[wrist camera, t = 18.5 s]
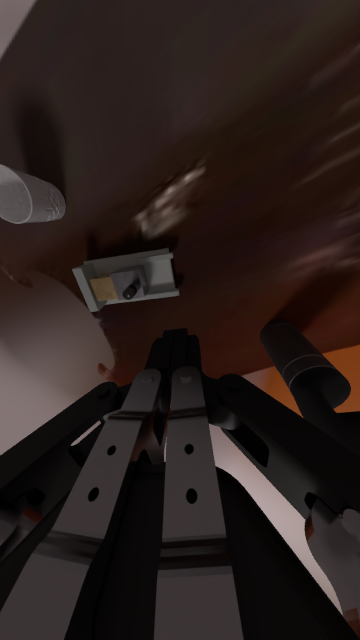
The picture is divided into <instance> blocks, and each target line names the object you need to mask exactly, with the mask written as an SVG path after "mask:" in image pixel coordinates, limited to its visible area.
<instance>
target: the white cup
mask: <svg viewBox="0 0 360 640" xmlns="http://www.w3.org/2000/svg"><path fill="white" fill-rule="evenodd" d="M65 210H66V204H65V200H64V197H63V195H62V194H61V192H60V190H59V189H58V188H56V187H55V186H54V185H53V184H52V183H49V182H46V181H43V180H41V179H39V178H37V177H34V176H32V175H29V174H27V173H24V172H21V171H18V170H15V169H12V168H10V167H7V166H4V165H1V164H0V217H1V218H3V219H5V220H6V221H9V222H12V223H33V222H44V221H50V220H58V219H61V218H62V217H63V215H64V214H65Z"/></svg>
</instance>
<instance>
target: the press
mask: <svg viewBox="0 0 360 640" xmlns="http://www.w3.org/2000/svg"><path fill="white" fill-rule="evenodd" d="M173 257H174V256H173V252H170V253H169V248H165V249H159V250H153V251H146V252H140V253H134V254H128V255H121V256H115V257H109V258H102V259H96V260H90V261H86V262H84V265H82V266H79V267H77V268H74V269H72V270H73V273H74V275H75V277H76V280H77V282H78V284H79V286H80V289H81V291H82V293H83V296H84V298H85V300H86V302H87V305H88V307H89V309H90V312H93V311H99V310H100V309H101V308H102V307H103V306H104V305H106V304H114V303H122V302H130V301H138V300H146V299H154V298H162V297H170V296H176V295H179V288H177V289H175V283H174V277H173V271H172V265H171V259H172V258H173ZM139 265H143V266H144V270H145V274H146V278H147V282H148V286H149V291H148V293H147V294H146V296H145V297H143V298H135V299H131V300H119V299H112V300H104V301H98V300H97V297H96V295H95V292H94V290H93V287H92V285H91V282H90V279H92V278H94V277H95V276H97V275H99V274H103V273H110V272H114V271H115V270H117V269H118V268H125V267H132V266H139Z"/></svg>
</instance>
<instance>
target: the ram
mask: <svg viewBox="0 0 360 640" xmlns="http://www.w3.org/2000/svg"><path fill="white" fill-rule="evenodd" d="M110 276H111V279H112V282H113V285H114V288H115V291H116V294H117V296H118V299H119V300H131V299H135V298H143V297H145V296H146V294H147V293H148V291H149V286H148V282H147V278H146V274H145V270H144V266H143V265H139V266H132V267H125V268H118V269H117V270H115V271H114V272H112V273H111V274H110Z"/></svg>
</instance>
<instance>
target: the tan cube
mask: <svg viewBox="0 0 360 640" xmlns="http://www.w3.org/2000/svg"><path fill="white" fill-rule="evenodd" d="M111 273H112V272H110V273H103V274H99V275H97V276H95V277H94V278H92V279H90V282H91V285H92V287H93V290H94V292H95V295H96V297H97V300H98V301H104V300H112V299H118V296H117V294H116V291H115V288H114V285H113V282H112V279H111V276H110V274H111Z"/></svg>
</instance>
